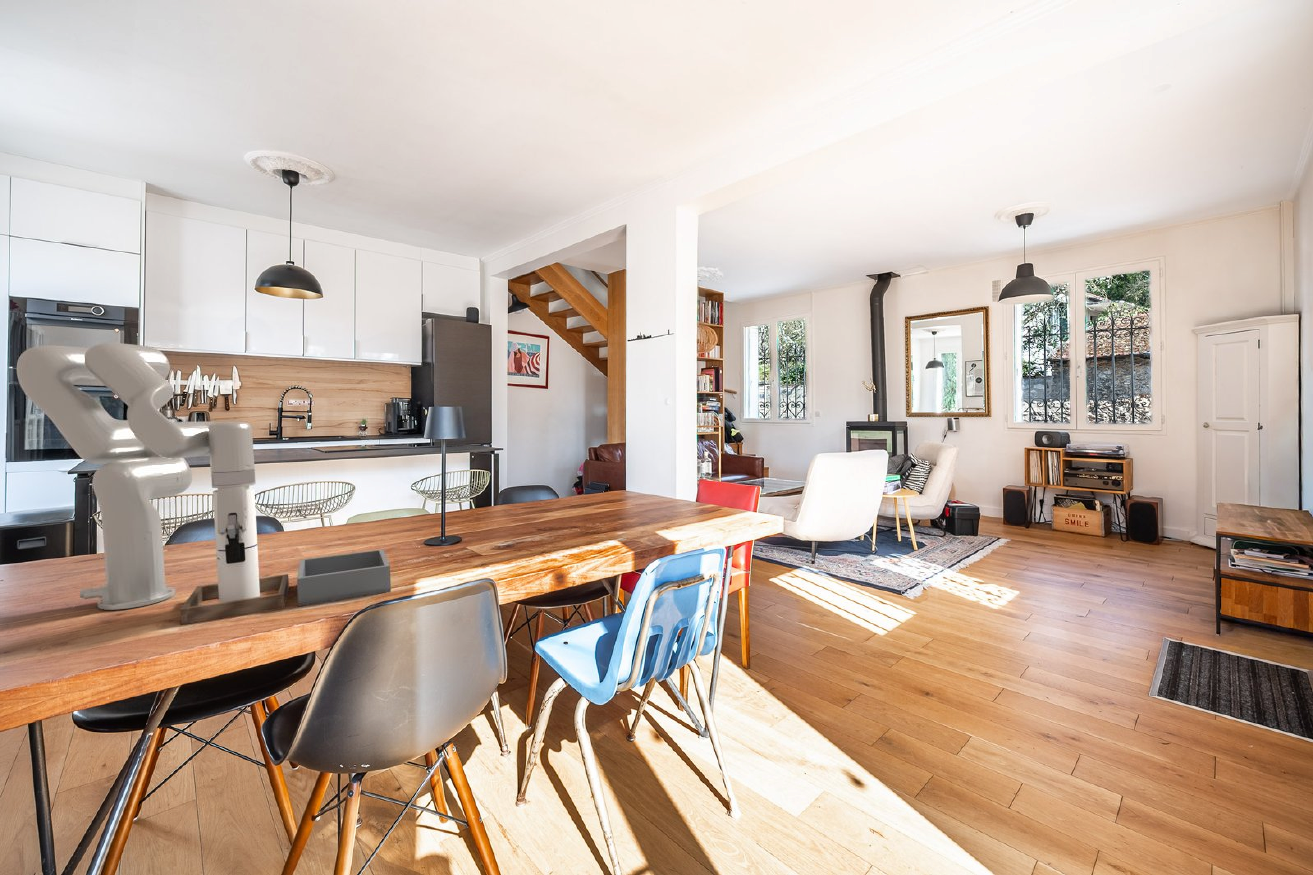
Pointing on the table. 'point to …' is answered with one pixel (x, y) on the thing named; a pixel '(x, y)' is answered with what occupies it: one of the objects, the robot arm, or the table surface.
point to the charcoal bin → (342, 576)
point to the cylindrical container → (243, 575)
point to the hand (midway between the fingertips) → (239, 557)
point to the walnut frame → (234, 601)
